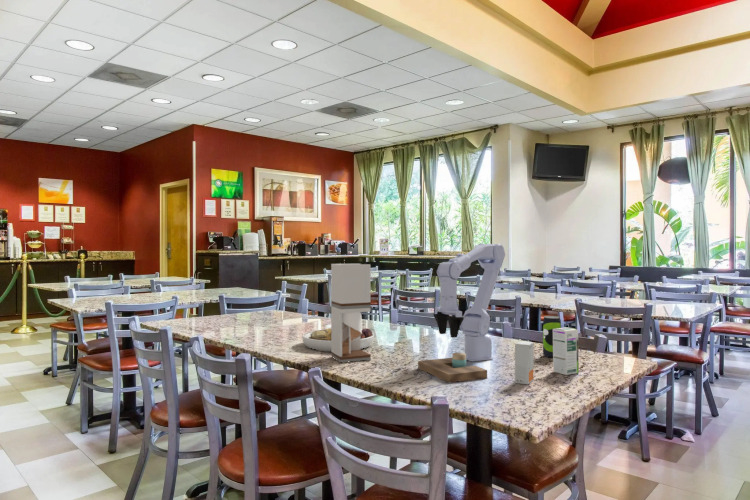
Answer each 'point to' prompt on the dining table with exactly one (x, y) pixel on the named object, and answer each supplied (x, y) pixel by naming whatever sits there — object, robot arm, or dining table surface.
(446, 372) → the notched board
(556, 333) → the syrup box
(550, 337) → the beverage can
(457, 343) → the dining table surface
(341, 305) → the white cutaway tower
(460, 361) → the wooden bobbin
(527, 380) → the skincare box
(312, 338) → the bowl
